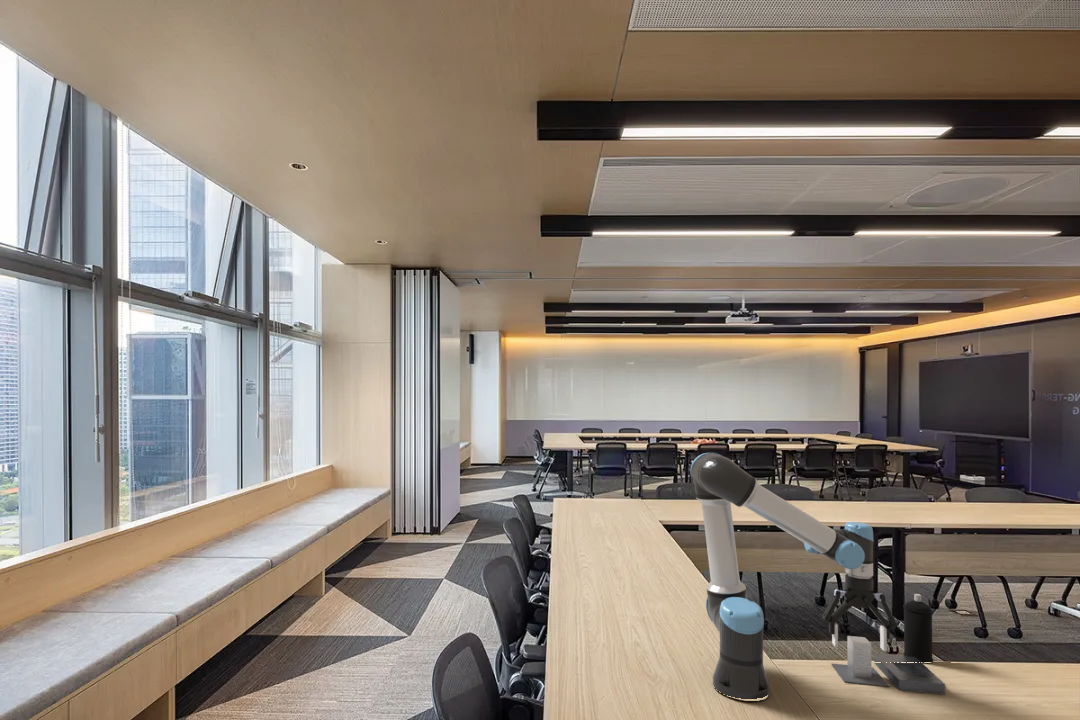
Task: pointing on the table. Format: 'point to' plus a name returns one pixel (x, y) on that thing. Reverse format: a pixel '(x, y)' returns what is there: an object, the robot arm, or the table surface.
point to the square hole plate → (909, 674)
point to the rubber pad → (848, 678)
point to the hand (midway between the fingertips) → (859, 647)
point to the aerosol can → (918, 630)
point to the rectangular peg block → (859, 657)
